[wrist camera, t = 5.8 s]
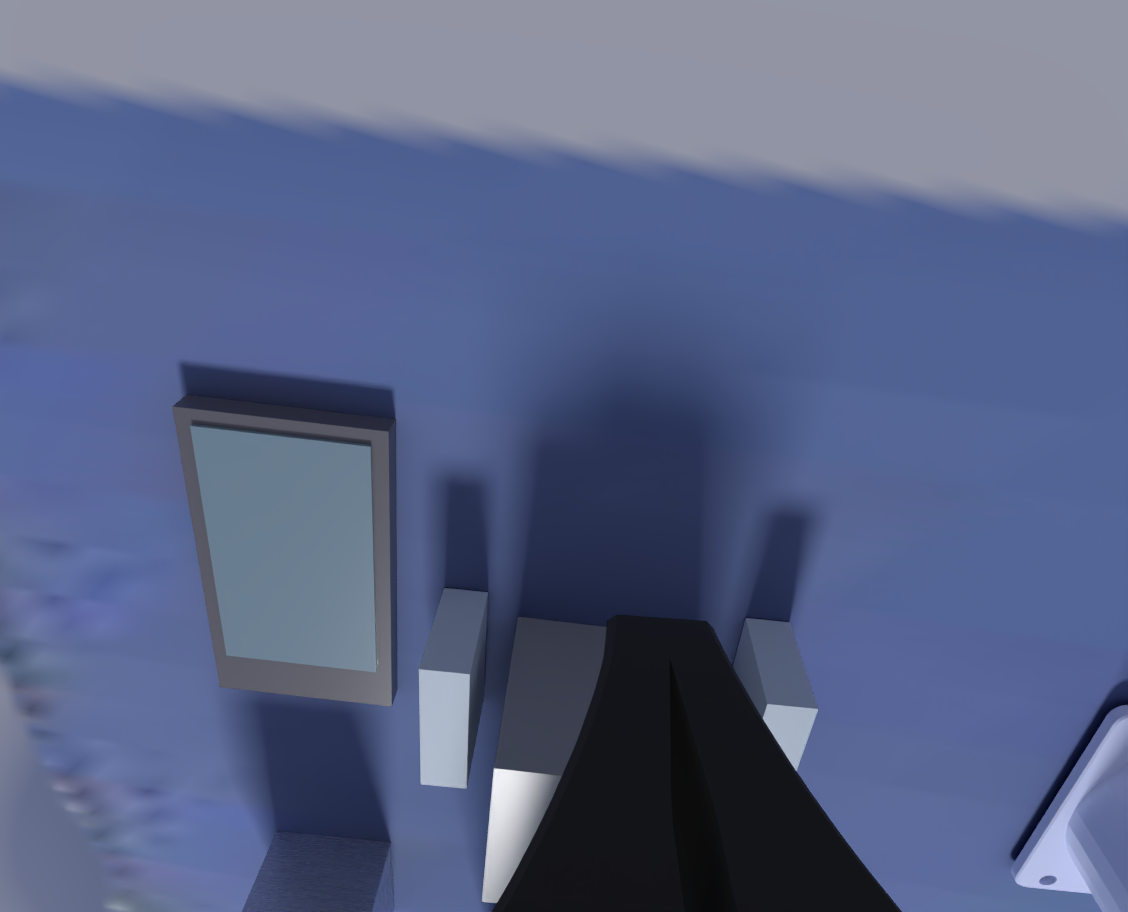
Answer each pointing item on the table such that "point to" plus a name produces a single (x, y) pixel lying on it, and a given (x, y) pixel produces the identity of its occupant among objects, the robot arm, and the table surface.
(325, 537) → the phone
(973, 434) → the table surface
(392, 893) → the metal plug
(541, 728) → the cube
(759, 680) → the socket rails
